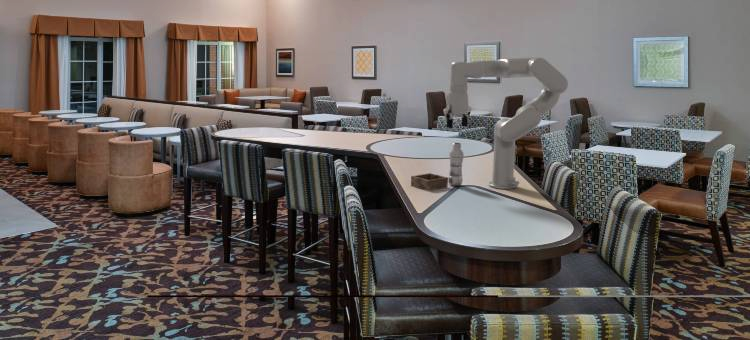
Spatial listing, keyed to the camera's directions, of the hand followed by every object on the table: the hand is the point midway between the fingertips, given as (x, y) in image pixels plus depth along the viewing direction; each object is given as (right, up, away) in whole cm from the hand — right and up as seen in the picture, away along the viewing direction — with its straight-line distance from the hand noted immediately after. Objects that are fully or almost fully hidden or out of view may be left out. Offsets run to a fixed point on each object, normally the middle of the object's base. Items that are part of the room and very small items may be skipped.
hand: (457, 127), depth 263 cm
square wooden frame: (-12, -27, +4) cm, 30 cm away
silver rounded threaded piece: (0, -27, +6) cm, 28 cm away
